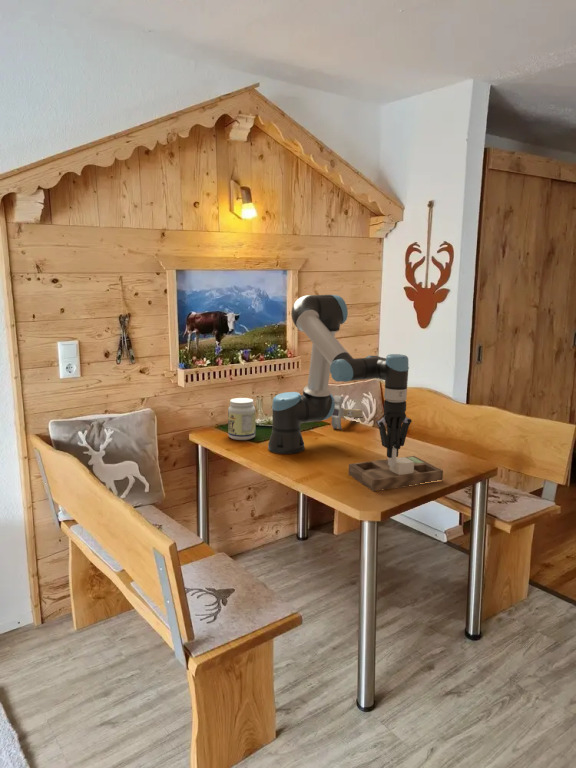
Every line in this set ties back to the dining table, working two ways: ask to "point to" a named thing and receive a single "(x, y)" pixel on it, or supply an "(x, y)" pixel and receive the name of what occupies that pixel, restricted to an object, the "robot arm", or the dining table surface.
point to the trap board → (393, 474)
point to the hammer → (343, 412)
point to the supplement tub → (241, 419)
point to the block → (403, 466)
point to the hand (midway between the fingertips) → (391, 465)
